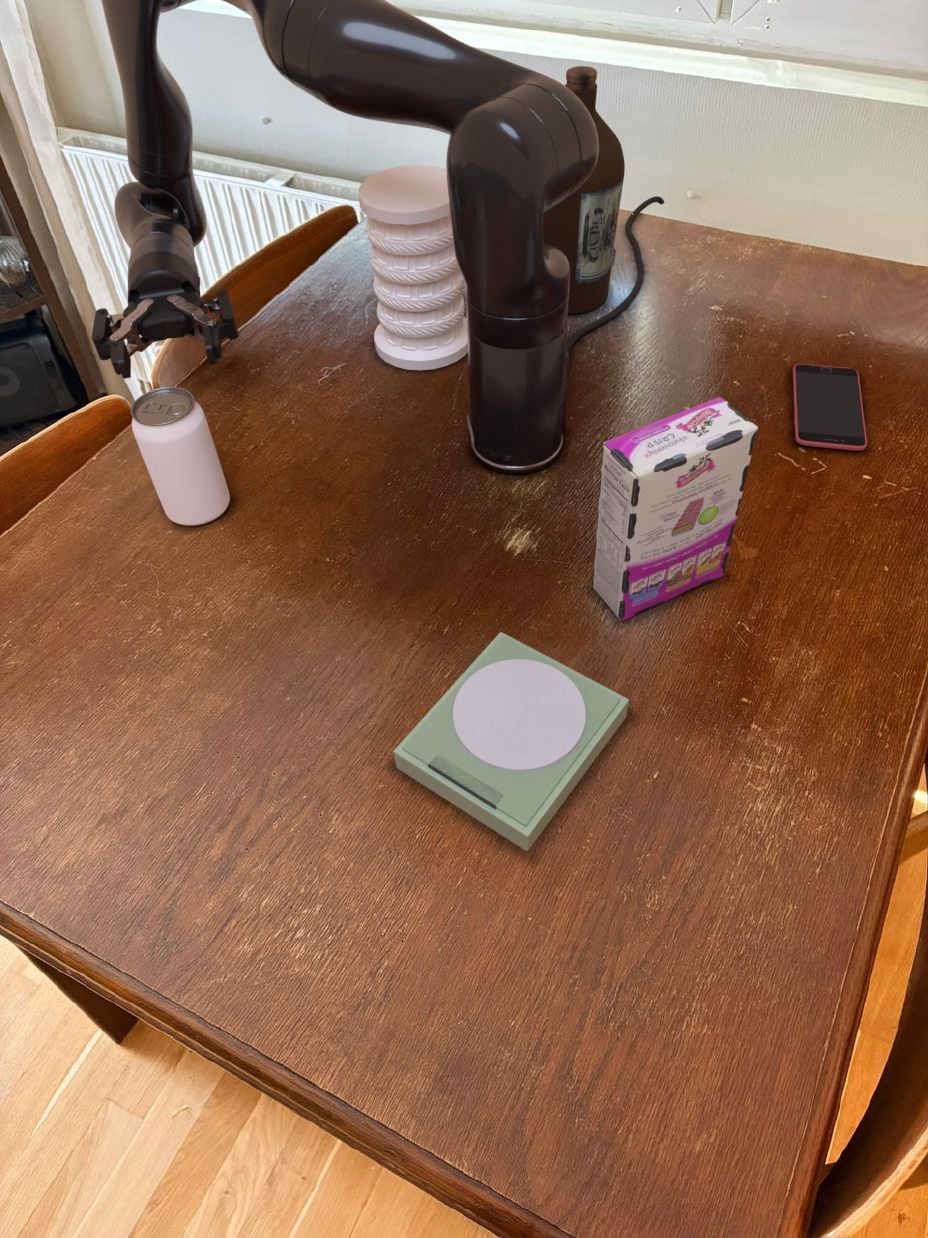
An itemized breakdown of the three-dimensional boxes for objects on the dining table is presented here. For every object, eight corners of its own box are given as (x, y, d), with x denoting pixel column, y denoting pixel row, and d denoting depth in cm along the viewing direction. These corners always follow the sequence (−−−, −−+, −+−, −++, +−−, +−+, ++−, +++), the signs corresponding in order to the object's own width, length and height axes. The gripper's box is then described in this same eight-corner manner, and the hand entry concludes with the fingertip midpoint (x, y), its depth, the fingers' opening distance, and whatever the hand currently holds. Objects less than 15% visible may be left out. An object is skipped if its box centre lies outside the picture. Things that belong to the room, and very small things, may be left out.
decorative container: (355, 342, 106) (331, 189, 93) (429, 305, 111) (416, 153, 98) (418, 382, 101) (403, 225, 87) (493, 341, 105) (489, 185, 92)
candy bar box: (690, 543, 82) (721, 392, 70) (724, 577, 79) (763, 427, 67) (587, 587, 79) (600, 438, 67) (618, 624, 76) (639, 476, 64)
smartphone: (859, 367, 98) (868, 448, 89) (857, 372, 98) (867, 452, 89) (792, 362, 99) (795, 441, 90) (791, 366, 99) (794, 445, 90)
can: (216, 532, 86) (181, 430, 77) (154, 524, 87) (112, 423, 78) (241, 487, 90) (210, 386, 81) (181, 481, 91) (144, 380, 82)
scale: (500, 649, 75) (500, 624, 73) (626, 717, 70) (630, 693, 68) (395, 768, 68) (391, 745, 66) (527, 852, 63) (527, 831, 61)
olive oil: (509, 296, 112) (508, 73, 93) (566, 264, 116) (576, 45, 97) (573, 328, 106) (587, 98, 87) (630, 293, 111) (655, 67, 92)
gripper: (85, 259, 95) (80, 341, 85) (220, 239, 97) (231, 317, 87) (109, 323, 101) (107, 407, 91) (236, 303, 103) (248, 383, 92)
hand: (167, 363), depth 89 cm, fingers open, 8 cm apart
